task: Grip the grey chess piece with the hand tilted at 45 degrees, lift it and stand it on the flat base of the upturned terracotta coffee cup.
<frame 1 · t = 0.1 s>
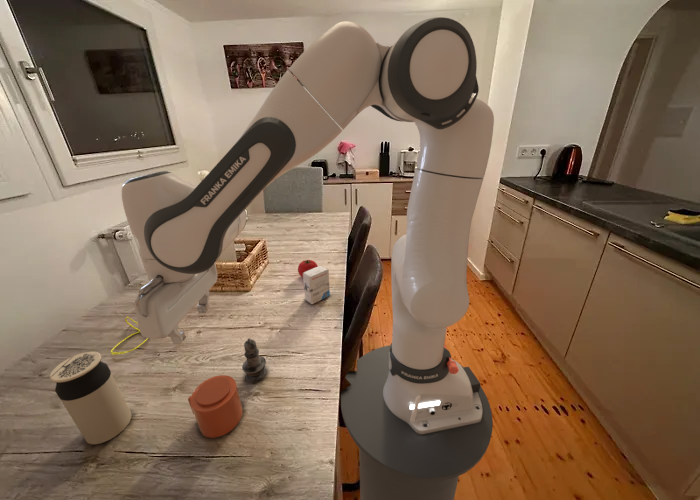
hand: (193, 325, 57), 23 cm above the table, tool pointing down, fingers open, 8 cm apart
coffee cup: (221, 417, 63), on the table
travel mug: (110, 427, 62), on the table
ink box: (317, 298, 107), on the table
tomato: (308, 276, 122), on the table
yellow rope bow: (145, 329, 92), on the table
grey chess piece: (256, 374, 74), on the table
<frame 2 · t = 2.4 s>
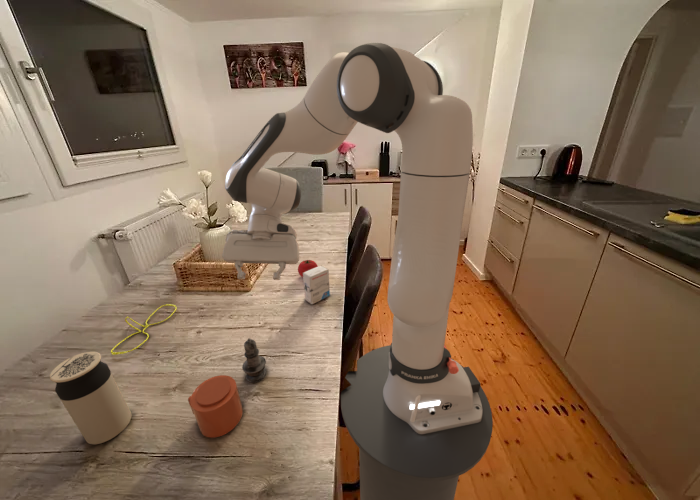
hand: (258, 279, 74), 23 cm above the table, tool tilted 40°, fingers open, 8 cm apart
nothing on the table moved.
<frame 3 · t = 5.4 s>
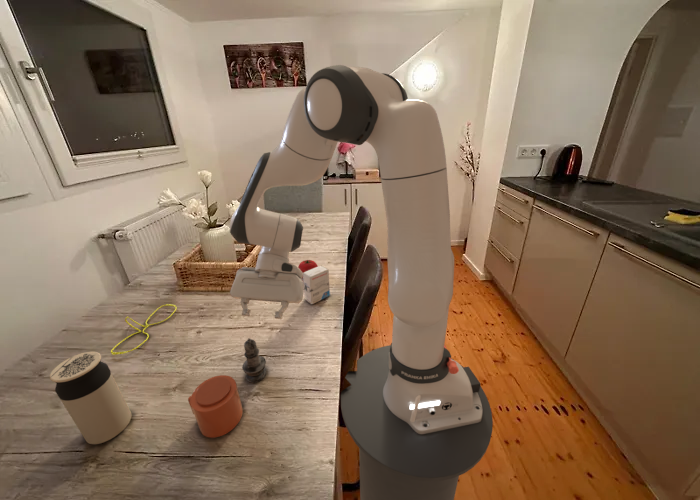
hand: (261, 317, 75), 13 cm above the table, tool tilted 45°, fingers open, 8 cm apart
nothing on the table moved.
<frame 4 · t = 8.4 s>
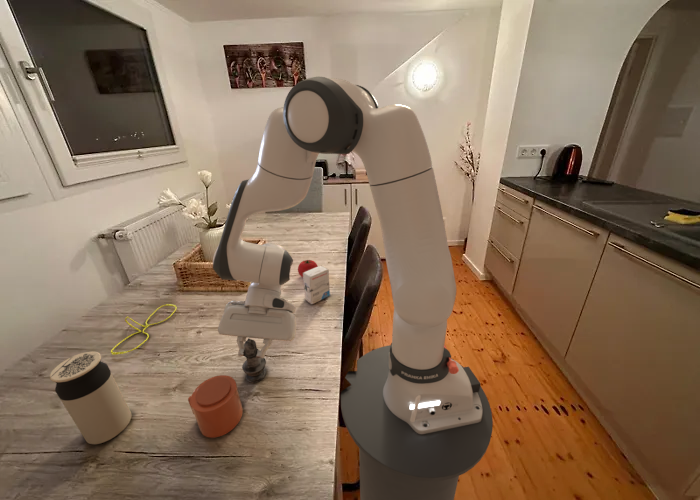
hand: (251, 357, 71), 7 cm above the table, tool tilted 45°, fingers closed on grey chess piece, 3 cm apart
grey chess piece: (256, 374, 74), on the table, touching gripper
everything else where it was.
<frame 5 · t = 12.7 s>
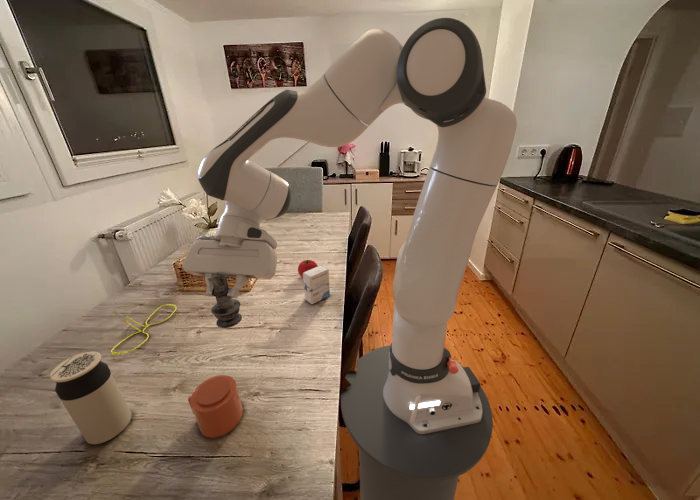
hand: (221, 296, 59), 27 cm above the table, tool tilted 45°, fingers closed on grey chess piece, 3 cm apart
grey chess piece: (229, 321, 62), point 20 cm above the table, touching gripper
everything else where it was.
when the fingers open (15 cm above the table, at t = 17.5 s): grey chess piece stays where it is, resting on coffee cup.
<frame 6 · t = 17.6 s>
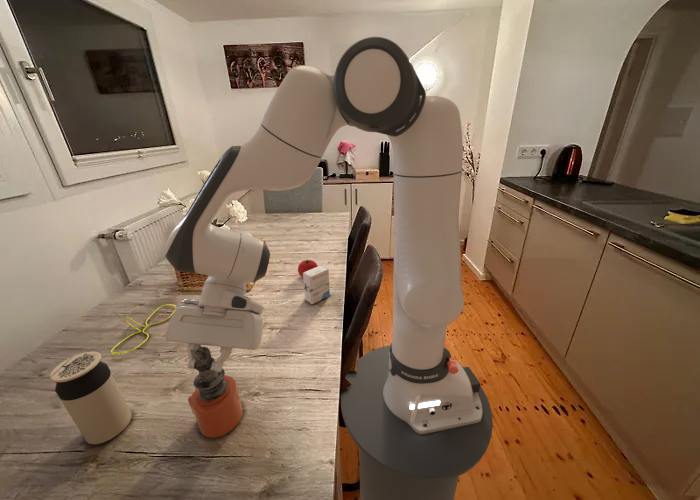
hand: (204, 369, 56), 15 cm above the table, tool tilted 45°, fingers open, 4 cm apart
grey chess piece: (213, 390, 60), point 8 cm above the table, touching coffee cup
everything else where it was.
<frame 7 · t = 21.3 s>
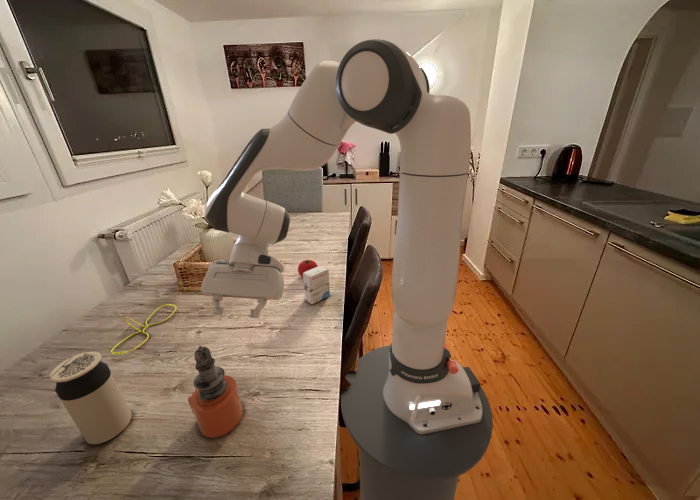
hand: (235, 316, 66), 19 cm above the table, tool tilted 45°, fingers open, 8 cm apart
nothing on the table moved.
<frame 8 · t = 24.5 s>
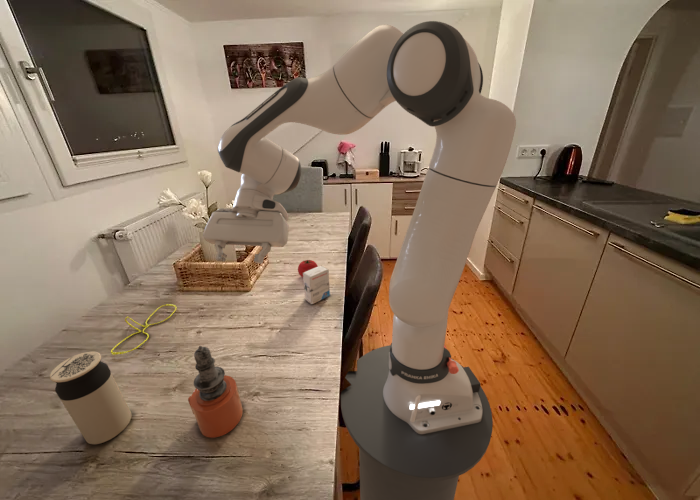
hand: (238, 261, 64), 31 cm above the table, tool tilted 45°, fingers open, 8 cm apart
nothing on the table moved.
at the end: grey chess piece 0.0 cm off-centre on the coffee cup, point 8.4 cm above the coffee cup's base; grey chess piece tilted 0°; the gripper is holding nothing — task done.
